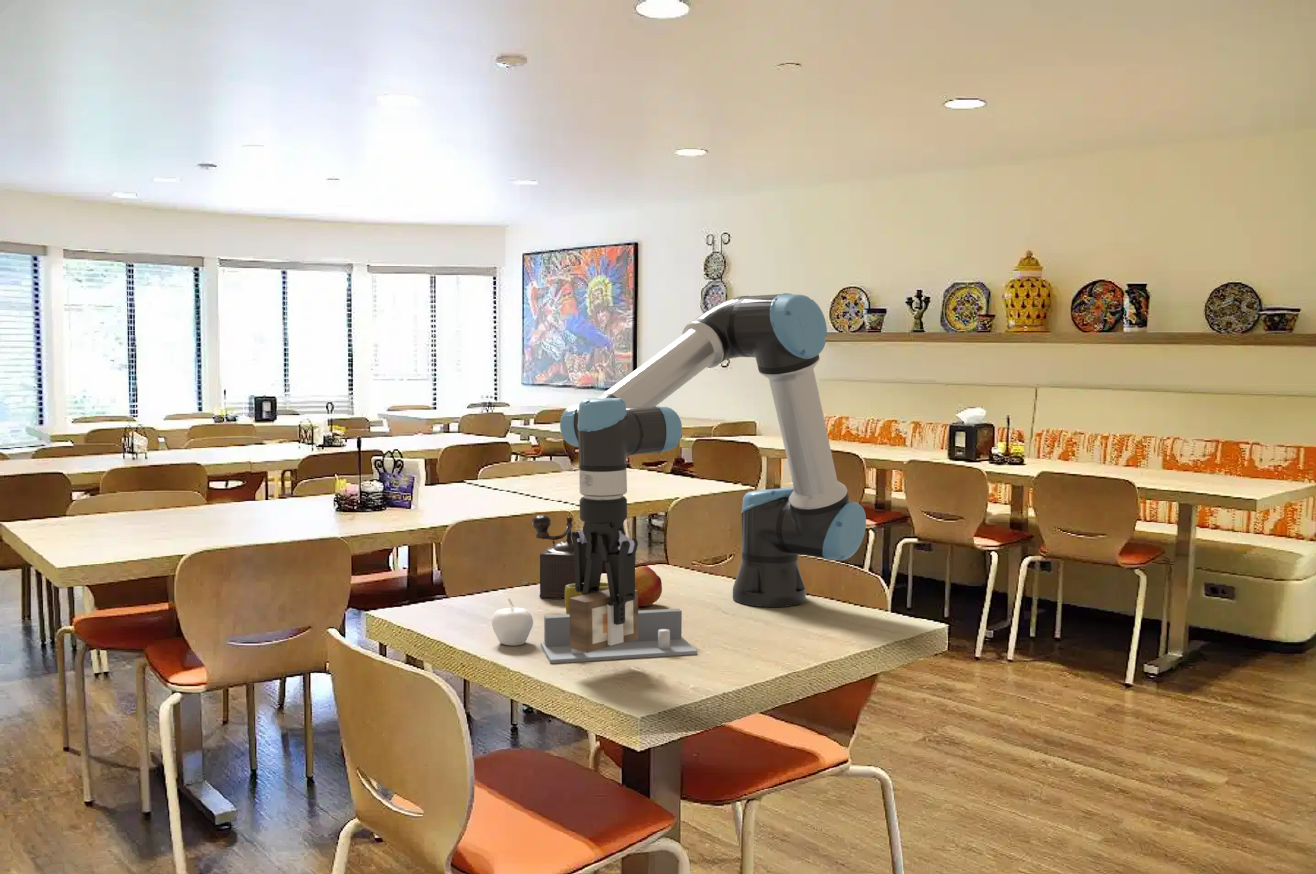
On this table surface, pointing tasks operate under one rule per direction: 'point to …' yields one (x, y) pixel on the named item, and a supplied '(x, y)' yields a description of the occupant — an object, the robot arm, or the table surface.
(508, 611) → the plain white apple
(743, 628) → the table surface
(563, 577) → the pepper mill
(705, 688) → the table surface
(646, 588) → the fruit
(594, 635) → the picture block
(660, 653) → the ledge
